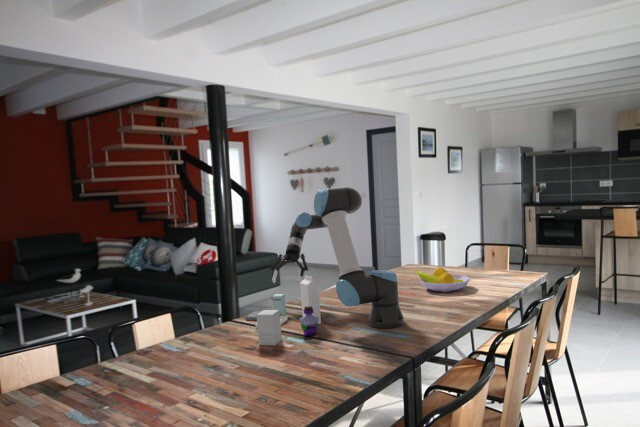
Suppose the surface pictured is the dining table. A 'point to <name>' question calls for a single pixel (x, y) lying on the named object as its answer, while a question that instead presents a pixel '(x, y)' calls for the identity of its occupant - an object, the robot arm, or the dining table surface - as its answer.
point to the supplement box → (269, 327)
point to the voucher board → (282, 319)
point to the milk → (310, 296)
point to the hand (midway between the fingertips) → (285, 281)
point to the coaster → (252, 315)
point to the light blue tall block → (279, 303)
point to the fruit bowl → (443, 280)
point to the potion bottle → (309, 322)
